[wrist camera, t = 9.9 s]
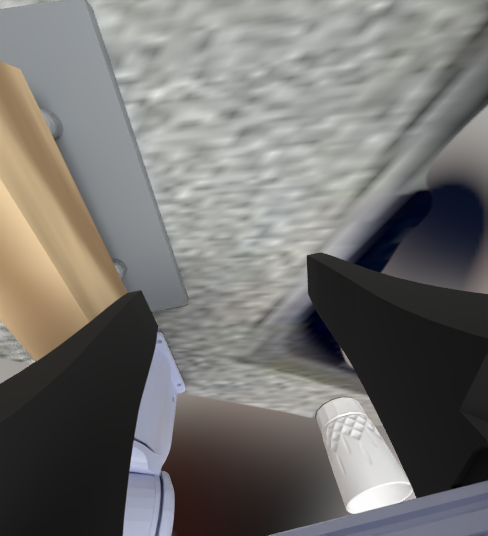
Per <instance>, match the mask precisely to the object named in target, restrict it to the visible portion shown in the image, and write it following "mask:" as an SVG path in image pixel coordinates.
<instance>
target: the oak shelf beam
mask: <svg viewBox="0 0 488 536" xmlns="http://www.w3.org/2000/svg"><path fill="white" fill-rule="evenodd" d="M126 293H127V291H126V289H125V286H124V284H123V282H122V280H121V278H120V276H119V274H118V272H117V270H116V268H115V266H114V263H113V261H112V259H111V257H110V255H109V253H108V251H107V249H106V247H105V245H104V243H103V240H102V238H101V236H100V234H99V232H98V230H97V228H96V226H95V224H94V222H93V220H92V218H91V215H90V213H89V211H88V209H87V207H86V205H85V203H84V201H83V199H82V197H81V195H80V192H79V190H78V188H77V186H76V184H75V182H74V180H73V178H72V176H71V174H70V172H69V169H68V167H67V165H66V163H65V161H64V159H63V157H62V155H61V153H60V151H59V149H58V146H57V144H56V142H55V140H54V138H53V136H52V134H51V132H50V130H49V128H48V126H47V124H46V121H45V119H44V117H43V115H42V113H41V111H40V109H39V107H38V105H37V103H36V101H35V98H34V96H33V94H32V92H31V90H30V88H29V86H28V84H27V82H26V80H25V78H24V75H23V73H22V71H21V69H19V68H16V67H14V66H11V65H9V64H6V63H4V62H1V61H0V320H1V322H2V323H3V324H4V325H5V326H6V327H7V329H8V330H9V331H10V332H11V333H12V334H13V336H14V337H15V338H16V339H17V340H18V341H19V343H20V344H21V345H22V346H23V347H24V348H25V350H26V351H27V352H28V353H29V354H30V355H31V357H32V358H33V359H34V360H35V361H38V360H39V359H41V358H42V357H44V356H45V355H46V354H48V353H49V352H51V351H52V350H54V349H55V348H56V347H58V346H59V345H61V344H62V343H63V342H64V341H66V340H67V339H68V338H70V337H71V336H72V335H74V334H75V333H76V332H77V331H79V330H80V329H81V328H83V327H84V326H85V325H87V324H88V323H89V322H90V321H91V320H93V319H94V318H95V317H96V316H98V315H99V314H100V313H101V312H103V311H104V310H105V309H106V308H107V307H109V306H110V305H111V304H112V303H114V302H115V301H116V300H118V299H119V298H120V297H122V296H123V295H125V294H126Z"/></svg>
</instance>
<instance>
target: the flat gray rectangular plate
mask: <svg viewBox="0 0 488 536" xmlns="http://www.w3.org/2000/svg"><path fill="white" fill-rule="evenodd" d="M0 61H1V62H4V63H6V64H9V65H11V66H14V67H16V68H19V69H21V71H22V73H23V75H24V78H25V80H26V82H27V84H28V86H29V88H30V90H31V92H32V94H33V96H34V98H35V101H36V103H37V105H38V107H39V109H40V111H41V113H42V115H43V117H44V119H45V121H46V124H47V126H48V128H49V130H50V132H51V134H52V136H53V138H54V140H55V142H56V144H57V146H58V149H59V151H60V153H61V155H62V157H63V159H64V161H65V163H66V165H67V167H68V169H69V172H70V174H71V176H72V178H73V180H74V182H75V184H76V186H77V188H78V190H79V192H80V195H81V197H82V199H83V201H84V203H85V205H86V207H87V209H88V211H89V213H90V215H91V218H92V220H93V222H94V224H95V226H96V228H97V230H98V232H99V234H100V236H101V238H102V240H103V243H104V245H105V247H106V249H107V251H108V253H109V255H110V257H111V259H112V261H113V263H114V266H115V268H116V270H117V272H118V274H119V276H120V278H121V280H122V282H123V284H124V286H125V289H126V291H127V293H130V292H134V291H139V290H142V292H143V295H144V297H145V299H146V301H147V303H148V306H149V308H150V310H151V312H155V311H160V310H165V309H170V308H175V307H180V306H185V305H188V296H187V293H186V290H185V287H184V284H183V281H182V278H181V275H180V272H179V269H178V266H177V263H176V260H175V257H174V254H173V251H172V248H171V245H170V242H169V239H168V235H167V232H166V229H165V226H164V223H163V220H162V217H161V214H160V211H159V208H158V205H157V202H156V199H155V196H154V193H153V190H152V187H151V184H150V181H149V178H148V175H147V172H146V169H145V166H144V163H143V160H142V157H141V154H140V151H139V148H138V145H137V142H136V139H135V136H134V133H133V130H132V127H131V124H130V120H129V117H128V114H127V111H126V108H125V105H124V102H123V99H122V96H121V93H120V90H119V87H118V84H117V81H116V78H115V75H114V72H113V69H112V66H111V63H110V60H109V57H108V54H107V51H106V48H105V45H104V42H103V39H102V36H101V33H100V30H99V27H98V24H97V21H96V18H95V15H94V12H93V9H92V7H91V5H90V4H89V3H88V2H87V1H86V0H60V1H53V2H46V3H39V4H32V5H25V6H18V7H12V8H5V9H0Z"/></svg>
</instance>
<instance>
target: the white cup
mask: <svg viewBox="0 0 488 536" xmlns="http://www.w3.org/2000/svg"><path fill="white" fill-rule="evenodd" d="M316 420H317V422H318V425H319V428H320V431H321V434H322V436H323V442H324V445H325V448H326V451H327V454H328V457H329V460H330V464H331V467H332V469H333V472H334V475H335V478H336V481H337V484H338V487H339V490H340V492H341V496H342V499H343V501H344V504H345V507H346V510H347V511H348V512H349V513H352V514H356V513H360V512H364V511H368V510H372V509H376V508H380V507H384V506H388V505H392V504H396V503H400V502H402V501H403V500H404V499H406V498H407V497H408V496H410V494H411V493H412V492H413V489H412V486H411V484H410V482H409V480H408V477H407V476H406V474H405V472H404V471H403V469H402V468H401V466H400V465H399V463H398V462H397V460H396V459H395V457H394V455H393V454H392V452H391V451H390V449H389V447H388V446H387V444H386V443H385V441H384V440H383V438H382V437H381V435H380V434H379V432H378V431H377V429H376V427H375V426H374V425H373V423H372V422H371V421H370V420H369V418H368V417H367V415H366V413H365V412H364V410H363V409H362V407H361V405H360V404H359V402H358V401H357V400H355V399H353V398H349V397H341V398H337V399H334V400H331V401H329V402H327V403H326V404H324V405H323V406H322V407H321V408H320V409H319V410H318V411H317V415H316Z"/></svg>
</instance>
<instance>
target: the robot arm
mask: <svg viewBox="0 0 488 536" xmlns="http://www.w3.org/2000/svg"><path fill="white" fill-rule="evenodd" d="M307 273H308V294H309V297H310V299H311V301H312V303H313V305H314V307H315V309H316V311H317V313H318V314H319V316H320V317H321V319H322V320H323V322H324V323H325V325H326V326H327V328H328V329H329V331H330V332H331V334H332V335H333V337H334V338H335V340H336V341H337V342H338V344H339V345H340V347H341V348H342V350H343V351H344V353H345V354H346V356H347V358H348V359H349V361H350V362H351V364H352V366H353V368H354V370H355V371H356V373H357V375H358V377H359V379H360V381H361V383H362V384H363V386H364V388H365V390H366V392H367V394H368V396H369V398H370V400H371V402H372V404H373V406H374V408H375V410H376V412H377V414H378V416H379V418H380V420H381V422H382V424H383V426H384V428H385V430H386V432H387V434H388V436H389V438H390V440H391V443H392V445H393V447H394V449H395V451H396V453H397V455H398V458H399V460H400V462H401V464H402V466H403V469H404V471H405V473H406V475H407V477H408V480H409V482H410V484H411V486H412V489H413V491H414V493H415V496H416V499H412V500H408V501H404V502H400V503H396V504H392V505H388V506H384V507H380V508H376V509H372V510H368V511H364V512H360V513H356V514H352V515H348V516H345V517H341V518H336V519H333V520H328V521H324V522H321V523H316V524H312V525H309V526H305V527H300V528H296V529H292V530H289V531H285V532H280V533H276V534H272V535H269V536H488V294H482V293H473V292H466V291H460V290H454V289H448V288H442V287H436V286H431V285H426V284H421V283H417V282H412V281H408V280H404V279H400V278H396V277H393V276H389V275H386V274H383V273H379V272H376V271H373V270H370V269H367V268H364V267H361V266H358V265H355V264H353V263H350V262H347V261H344V260H342V259H339V258H336V257H333V256H331V255H328V254H324V253H316V254H311V255H307ZM157 331H158V325H157V323H156V321H155V319H154V316H153V314H152V312H151V310H150V308H149V306H148V303H147V301H146V299H145V297H144V295H143V292H142V290H139V291H134V292H130V293H126V294H125V295H123V296H122V297H120V298H119V299H118V300H116V301H115V302H114V303H112V304H111V305H110V306H109V307H107V308H106V309H105V310H104V311H103V312H101V313H100V314H99V315H98V316H96V317H95V318H94V319H93V320H91V321H90V322H89V323H88V324H87V325H85V326H84V327H83V328H81V329H80V330H79V331H77V332H76V333H75V334H74V335H72V336H71V337H70V338H68V339H67V340H66V341H64V342H63V343H62V344H61V345H59V346H58V347H56V348H55V349H54V350H52V351H51V352H49V353H48V354H46V355H45V356H44V357H42V358H41V359H39V360H38V361H36V362H35V363H33V364H32V365H30V366H29V367H27V368H25V369H24V370H22V371H21V372H19V373H18V374H16V375H14V376H13V377H11V378H9V379H8V380H6V381H4V382H3V383H1V384H0V536H171V532H172V527H173V519H174V490H173V486H172V484H171V480H170V476H169V475H168V473H167V472H165V471H161V467H162V465H163V464H164V462H165V460H166V458H167V455H168V453H169V451H170V447H171V441H172V432H173V425H174V417H175V410H176V402H177V394H179V393H183V392H185V391H186V386H185V384H184V381H183V379H182V377H181V374H180V372H179V370H178V367H177V365H176V363H175V361H174V358H173V356H172V354H171V351H170V349H169V347H168V344H167V342H166V340H165V338H164V335H163V334H162V333H161V332H157ZM159 340H161V341H159Z"/></svg>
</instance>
